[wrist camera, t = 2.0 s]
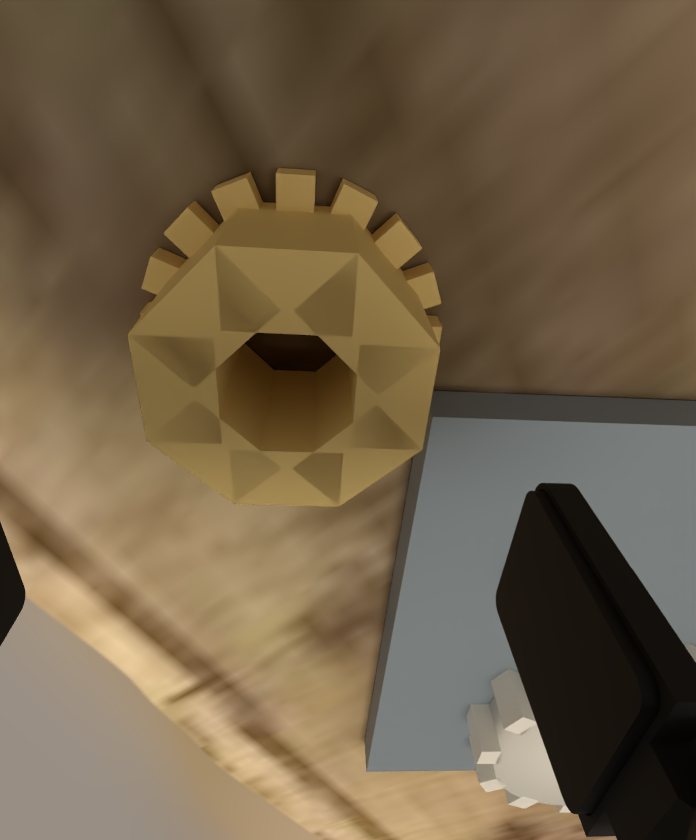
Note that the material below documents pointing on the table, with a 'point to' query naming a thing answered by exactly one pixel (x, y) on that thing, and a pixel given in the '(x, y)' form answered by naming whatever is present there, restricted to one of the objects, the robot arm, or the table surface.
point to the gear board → (485, 558)
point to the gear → (287, 314)
